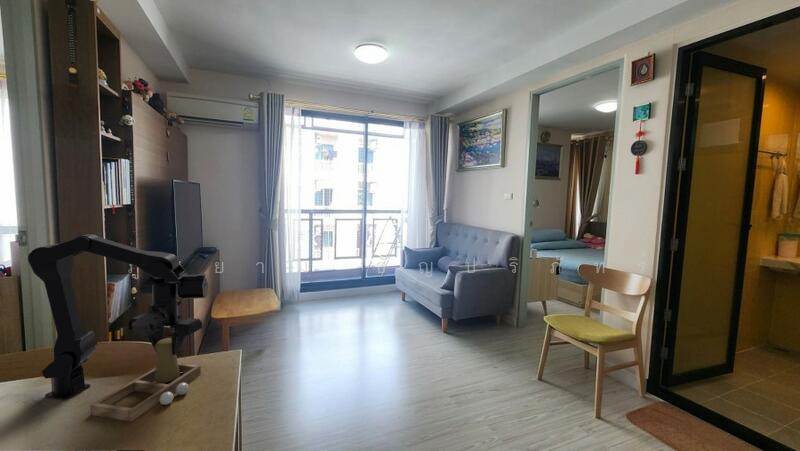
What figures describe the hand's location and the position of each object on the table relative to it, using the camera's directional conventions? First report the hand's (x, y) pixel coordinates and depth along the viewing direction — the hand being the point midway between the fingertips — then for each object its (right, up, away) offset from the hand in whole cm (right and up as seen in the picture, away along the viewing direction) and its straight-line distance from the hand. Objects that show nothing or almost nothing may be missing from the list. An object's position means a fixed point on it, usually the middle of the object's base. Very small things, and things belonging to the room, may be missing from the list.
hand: (166, 353), depth 97 cm
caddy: (-1, -9, -4) cm, 10 cm away
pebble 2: (+7, -9, -5) cm, 13 cm away
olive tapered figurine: (0, -7, +1) cm, 7 cm away
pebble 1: (+6, -10, -9) cm, 15 cm away
